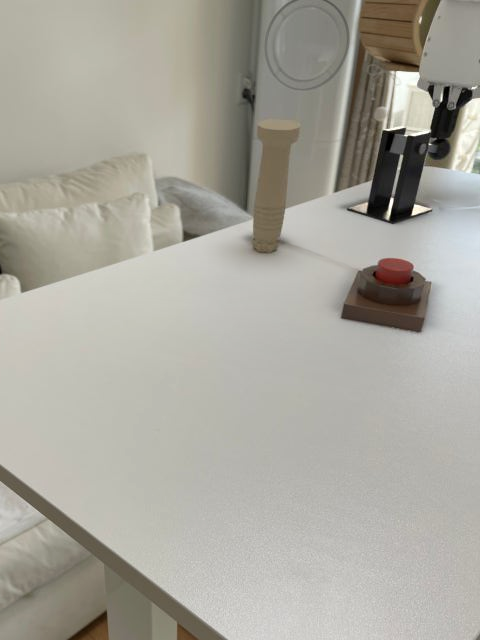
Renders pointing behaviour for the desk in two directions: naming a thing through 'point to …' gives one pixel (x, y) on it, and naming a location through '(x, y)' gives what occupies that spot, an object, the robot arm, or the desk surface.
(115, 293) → the desk surface
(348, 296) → the button block
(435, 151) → the lever
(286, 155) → the handle
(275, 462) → the desk surface
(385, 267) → the button
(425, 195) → the desk surface
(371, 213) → the bracket
